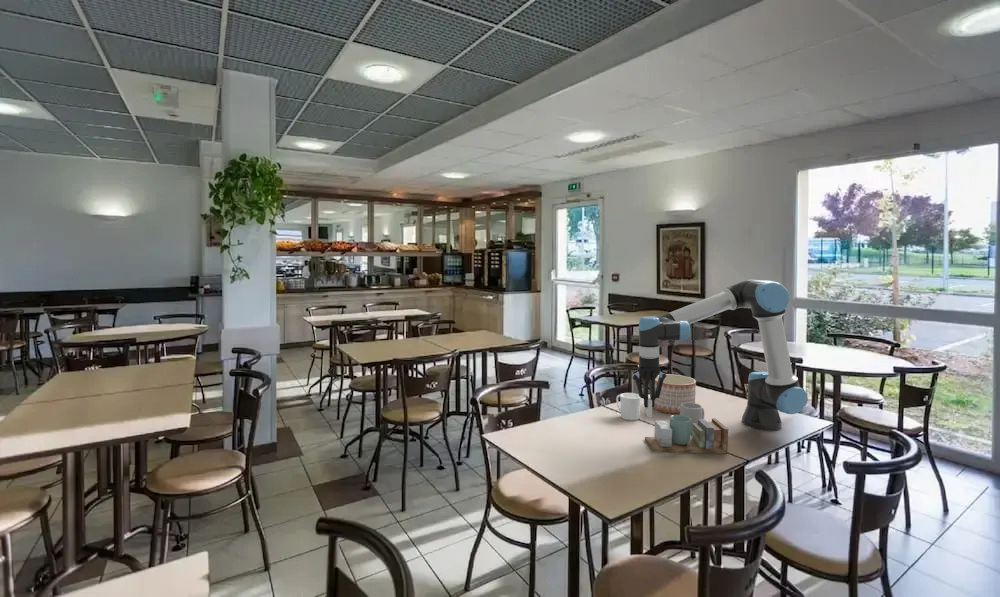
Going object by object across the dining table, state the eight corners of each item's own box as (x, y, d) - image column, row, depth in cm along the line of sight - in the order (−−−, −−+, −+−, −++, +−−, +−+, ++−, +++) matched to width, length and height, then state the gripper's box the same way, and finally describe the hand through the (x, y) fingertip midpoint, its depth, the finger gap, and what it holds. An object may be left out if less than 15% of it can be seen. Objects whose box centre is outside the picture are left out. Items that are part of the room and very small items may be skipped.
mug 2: (691, 436, 199) (692, 409, 198) (674, 429, 207) (675, 404, 206) (711, 431, 205) (712, 405, 204) (694, 424, 213) (695, 400, 212)
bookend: (664, 437, 194) (665, 420, 193) (671, 446, 185) (672, 428, 184) (654, 437, 194) (654, 420, 193) (660, 446, 185) (661, 428, 184)
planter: (691, 405, 240) (692, 375, 239) (697, 417, 221) (699, 385, 220) (650, 402, 244) (651, 373, 243) (653, 414, 226) (654, 383, 224)
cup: (688, 448, 184) (689, 422, 183) (666, 444, 188) (667, 419, 187) (692, 441, 190) (693, 416, 189) (671, 437, 194) (672, 413, 193)
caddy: (714, 440, 194) (715, 418, 194) (727, 453, 182) (728, 429, 182) (644, 439, 196) (645, 417, 195) (652, 452, 184) (653, 428, 183)
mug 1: (642, 416, 223) (643, 394, 222) (636, 422, 215) (637, 399, 214) (619, 412, 229) (619, 391, 228) (612, 418, 221) (613, 395, 220)
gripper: (662, 354, 195) (662, 411, 197) (629, 354, 195) (630, 412, 197) (668, 358, 187) (668, 418, 189) (634, 359, 188) (634, 418, 190)
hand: (649, 415), depth 193 cm, fingers closed
